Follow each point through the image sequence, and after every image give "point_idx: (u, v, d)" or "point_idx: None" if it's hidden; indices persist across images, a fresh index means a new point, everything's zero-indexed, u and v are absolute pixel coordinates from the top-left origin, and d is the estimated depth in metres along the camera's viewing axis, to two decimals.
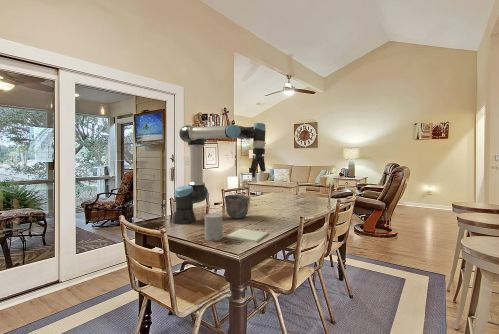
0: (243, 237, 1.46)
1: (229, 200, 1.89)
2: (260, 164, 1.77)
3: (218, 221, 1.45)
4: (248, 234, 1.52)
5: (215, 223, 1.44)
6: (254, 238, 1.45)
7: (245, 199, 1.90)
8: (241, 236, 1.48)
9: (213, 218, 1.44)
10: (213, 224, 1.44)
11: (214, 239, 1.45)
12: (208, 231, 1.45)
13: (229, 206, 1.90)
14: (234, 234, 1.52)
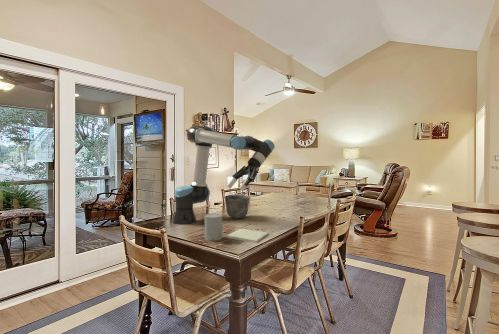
0: (243, 237, 1.46)
1: (229, 200, 1.89)
2: (242, 173, 1.62)
3: (218, 221, 1.45)
4: (248, 234, 1.52)
5: (215, 223, 1.44)
6: (254, 238, 1.45)
7: (245, 199, 1.90)
8: (241, 236, 1.48)
9: (213, 218, 1.44)
10: (213, 224, 1.44)
11: (214, 239, 1.45)
12: (208, 231, 1.45)
13: (229, 206, 1.90)
14: (234, 234, 1.52)
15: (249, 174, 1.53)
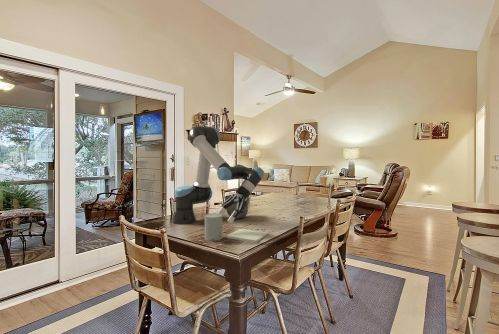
0: (243, 237, 1.46)
1: None
2: (231, 202, 1.58)
3: (218, 221, 1.45)
4: (248, 234, 1.52)
5: (215, 223, 1.44)
6: (254, 238, 1.45)
7: None
8: (241, 236, 1.48)
9: (213, 218, 1.44)
10: (213, 224, 1.44)
11: (214, 239, 1.45)
12: (208, 231, 1.45)
13: (229, 206, 1.90)
14: (234, 234, 1.52)
15: (238, 205, 1.49)
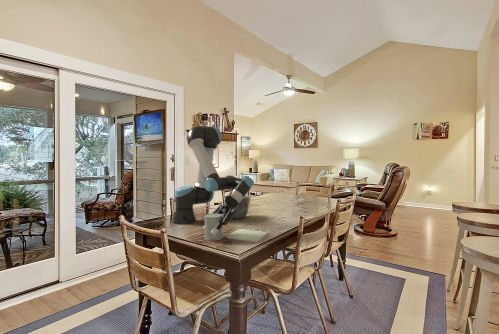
0: (243, 237, 1.46)
1: None
2: (219, 213, 1.54)
3: (218, 220, 1.45)
4: (248, 234, 1.52)
5: (215, 223, 1.44)
6: (254, 238, 1.45)
7: (245, 199, 1.90)
8: (241, 236, 1.48)
9: (213, 218, 1.44)
10: (213, 224, 1.44)
11: (214, 239, 1.45)
12: (208, 231, 1.45)
13: None
14: (234, 234, 1.52)
15: (223, 216, 1.47)
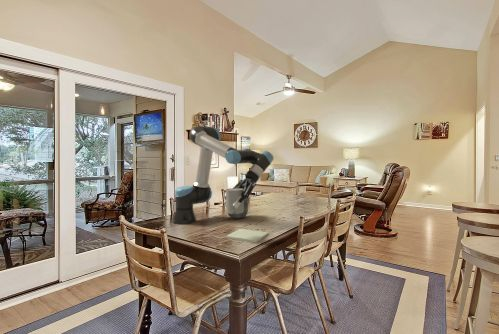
0: (243, 237, 1.46)
1: None
2: None
3: (239, 194, 1.45)
4: (248, 234, 1.52)
5: (237, 196, 1.45)
6: (254, 238, 1.45)
7: (245, 199, 1.90)
8: (241, 236, 1.48)
9: (235, 191, 1.44)
10: (235, 197, 1.44)
11: (236, 212, 1.45)
12: (230, 205, 1.45)
13: None
14: (234, 234, 1.52)
15: (244, 189, 1.47)
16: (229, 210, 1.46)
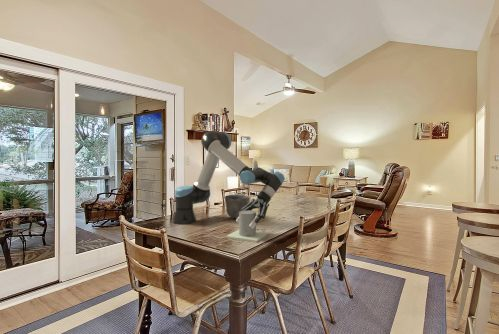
0: (243, 237, 1.46)
1: (229, 200, 1.89)
2: (251, 207, 1.58)
3: (252, 217, 1.48)
4: None
5: (250, 219, 1.48)
6: (254, 238, 1.45)
7: (245, 199, 1.90)
8: (241, 236, 1.48)
9: (248, 214, 1.47)
10: (248, 221, 1.47)
11: (249, 235, 1.48)
12: (244, 228, 1.48)
13: (229, 206, 1.90)
14: (234, 234, 1.52)
15: (259, 210, 1.49)
16: (242, 233, 1.49)
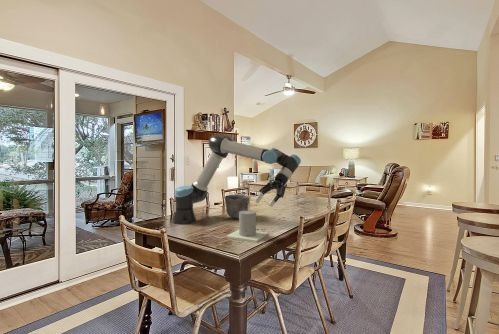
0: (243, 237, 1.46)
1: (229, 200, 1.89)
2: (269, 188, 1.64)
3: (252, 217, 1.48)
4: None
5: (250, 219, 1.48)
6: (254, 238, 1.45)
7: (245, 199, 1.90)
8: (241, 236, 1.48)
9: (248, 214, 1.47)
10: (248, 221, 1.47)
11: (249, 235, 1.48)
12: (244, 228, 1.48)
13: (229, 206, 1.90)
14: (234, 234, 1.52)
15: (278, 190, 1.56)
16: (242, 233, 1.49)
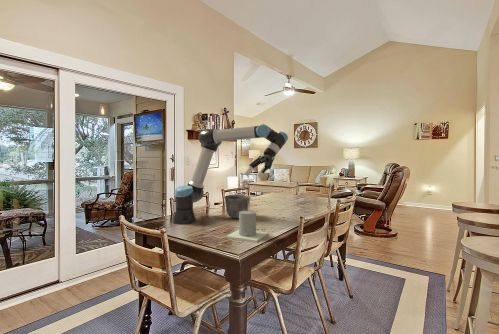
0: (243, 237, 1.46)
1: (229, 200, 1.89)
2: (258, 162, 1.78)
3: (253, 217, 1.48)
4: None
5: (250, 219, 1.48)
6: (254, 238, 1.45)
7: (245, 199, 1.90)
8: (241, 236, 1.48)
9: (248, 214, 1.47)
10: (248, 221, 1.47)
11: (249, 235, 1.48)
12: (244, 228, 1.48)
13: (229, 206, 1.90)
14: (234, 234, 1.52)
15: (266, 162, 1.69)
16: (242, 233, 1.49)
